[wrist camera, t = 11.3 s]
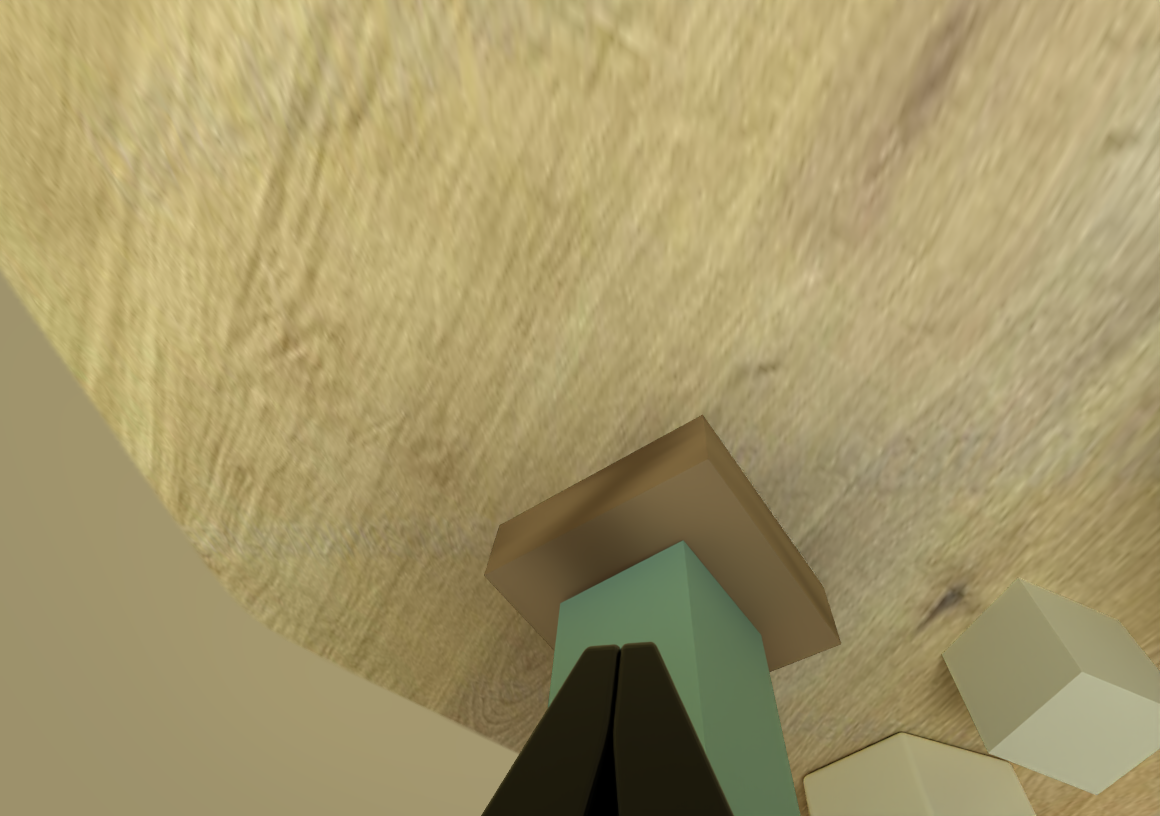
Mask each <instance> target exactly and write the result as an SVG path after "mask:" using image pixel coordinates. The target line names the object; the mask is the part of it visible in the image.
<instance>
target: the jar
mask: <svg viewBox="0 0 1160 816" xmlns="http://www.w3.org/2000/svg"><path fill="white" fill-rule="evenodd" d="M803 784H804V790H805V796H806V802H807V808H808V815H809V816H1037V815H1036V813H1035V811H1034V809H1033V807H1032V805H1031V803H1030V801H1029V799H1028V797H1027V795H1026V793H1025V791H1024V789H1023V787H1022V785H1021V783H1020V781H1019V779H1018V777H1017V775H1016V772H1015V770H1014V768H1013V767H1012V765H1011V764H1010V763H1009V762H1007V761H1004V760H1001V759H997V758H994V757H990V756H986V755H983V754H979V753H976V752H972V751H968V750H965V749H961V748H957V747H954V746H950V745H947V744H943V743H939V742H936V741H932V740H929V739H925V738H921V737H918V736H914V735H911V734H907V733H898V734H895V735H893V736H891V737H889V738H887V739H885V740H882V741H880V742H878V743H876V744H874V745H872V746H869V747H867V748H865V749H863V750H861V751H858V752H856V753H854V754H852V755H850V756H847V757H845V758H843V759H841V760H839V761H836V762H834V763H832V764H830V765H828V766H826V767H823V768H821V769H819V770H817V771H815V772H812V773H810V774H808V775H806V776H805V778H804V780H803Z"/></svg>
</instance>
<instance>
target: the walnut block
mask: <svg viewBox="0 0 1160 816" xmlns="http://www.w3.org/2000/svg"><path fill="white" fill-rule="evenodd" d="M683 540H684V542H685V543H686V544H687V545H688V546H689V548H690V549H691V550H692V551H693V553H694V554H695V555H696V556H697V557H698V559H699V560H700V561H701V562H702V563H703V565H704V566H705V567H706V568H707V570H708V571H709V572H710V573H711V574H712V576H713V577H714V578H715V579H716V581H717V582H718V583H719V584H720V585H721V587H722V588H723V589H724V590H725V591H726V593H727V594H728V595H729V596H730V598H731V599H732V600H733V601H734V602H735V604H736V605H737V606H738V607H739V609H740V610H741V611H742V612H743V613H744V615H745V616H746V617H747V618H748V620H749V621H750V622H751V623H752V624H753V626H754V627H755V628H756V629H757V630H758V632H759V633H760V634H761V637H762V641H763V646H764V650H765V655H766V660H767V664H768V669H769V672H771V671H774V670H776V669H779V668H781V667H784V666H786V665H789V664H792V663H794V662H797V661H799V660H802V659H804V658H807V657H810V656H812V655H815V654H817V653H820V652H822V651H825V650H827V649H830V648H833V647H835V646H838V645H840V644H841V642H840V638H839V635H838V632H837V629H836V626H835V622H834V619H833V616H832V613H831V610H830V606H829V603H828V600H827V597H826V593H825V590H824V587H823V586H822V584H821V583H820V582H819V580H818V579H817V577H816V576H815V574H814V573H813V572H812V570H811V569H810V567H809V566H808V564H807V563H806V562H805V560H804V559H803V557H802V556H801V554H800V553H799V552H798V550H797V549H796V547H795V546H794V544H793V543H792V542H791V540H790V539H789V537H788V536H787V534H786V533H785V532H784V530H783V529H782V527H781V526H780V524H779V523H778V522H777V520H776V519H775V517H774V516H773V515H772V513H771V512H770V510H769V509H768V507H767V506H766V505H765V503H764V502H763V500H762V499H761V497H760V496H759V495H758V493H757V492H756V490H755V489H754V487H753V486H752V485H751V483H750V482H749V480H748V479H747V477H746V476H745V475H744V473H743V472H742V470H741V469H740V467H739V466H738V465H737V463H736V462H735V460H734V459H733V457H732V456H731V455H730V453H729V452H728V450H727V449H726V447H725V446H724V445H723V443H722V442H721V440H720V439H719V437H718V436H717V435H716V433H715V432H714V430H713V429H712V427H711V426H710V425H709V423H708V422H707V420H706V419H705V417H704V416H703V415H701V416H699V417H697V418H696V419H694V420H692V421H690V422H688V423H686V424H685V425H683V426H681V427H679V428H677V429H675V430H674V431H672V432H670V433H668V434H666V435H665V436H663V437H661V438H659V439H657V440H655V441H654V442H652V443H650V444H648V445H646V446H644V447H643V448H641V449H639V450H637V451H635V452H633V453H632V454H630V455H628V456H626V457H624V458H622V459H621V460H619V461H617V462H615V463H613V464H611V465H610V466H608V467H606V468H604V469H602V470H600V471H599V472H597V473H595V474H593V475H591V476H589V477H588V478H586V479H584V480H582V481H580V482H578V483H577V484H575V485H573V486H571V487H569V488H567V489H566V490H564V491H562V492H560V493H558V494H556V495H555V496H553V497H551V498H549V499H547V500H545V501H544V502H542V503H540V504H538V505H536V506H534V507H533V508H531V509H529V510H527V511H525V512H523V513H522V514H520V515H518V516H516V517H514V518H512V519H511V520H509V521H507V522H505V523H503V524H501V525H500V526H499V529H498V532H497V535H496V539H495V542H494V545H493V548H492V551H491V555H490V558H489V561H488V564H487V568H486V571H485V574H484V576H485V577H486V578H487V579H488V580H489V581H490V582H491V583H492V584H493V586H494V587H495V588H496V589H497V590H498V591H499V592H500V593H501V594H502V595H503V596H504V597H505V598H506V599H507V601H508V602H509V603H510V604H511V605H512V606H513V607H514V608H515V609H516V610H517V611H518V612H519V613H520V614H521V615H522V617H523V618H524V619H525V620H526V621H527V622H528V623H529V624H530V625H531V626H532V627H533V628H534V629H535V630H536V631H537V633H538V634H539V635H540V636H541V637H542V638H543V639H544V640H545V641H546V642H547V643H548V644H549V645H550V646H551V647H552V649H553V650H554V651H555V643H556V635H557V626H558V618H559V609H560V603H562V602H564V601H566V600H568V599H570V598H572V597H574V596H576V595H578V594H579V593H581V592H583V591H585V590H587V589H589V588H591V587H593V586H595V585H597V584H599V583H601V582H603V581H605V580H607V579H609V578H611V577H613V576H615V575H616V574H618V573H620V572H622V571H624V570H626V569H628V568H630V567H632V566H634V565H636V564H638V563H640V562H642V561H644V560H646V559H648V558H650V557H652V556H653V555H655V554H657V553H659V552H661V551H663V550H665V549H667V548H669V547H671V546H673V545H675V544H677V543H679V542H681V541H683Z"/></svg>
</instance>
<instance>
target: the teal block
mask: <svg viewBox="0 0 1160 816" xmlns="http://www.w3.org/2000/svg"><path fill="white" fill-rule="evenodd" d="M639 642H653V643H655V644H656V645H657V647H658V649H659V652H660V654H661V656H662V658H663V660H664V663H665V665H666V667H667V669H668V671H669V674H670V676H671V678H672V680H673V682H674V684H675V687H676V689H677V691H678V693H679V695H680V698H681V700H682V702H683V704H684V706H685V709H686V711H687V713H688V715H689V717H690V720H691V722H692V724H693V726H694V728H695V731H696V733H697V735H698V737H699V739H700V742H701V744H702V746H703V748H704V750H705V753H706V755H707V757H708V759H709V761H710V764H711V766H712V768H713V770H714V772H715V775H716V777H717V779H718V781H719V783H720V786H721V788H722V790H723V792H724V794H725V797H726V799H727V801H728V803H729V805H730V808H731V810H732V812H733V814H734V816H801V815H800V811H799V806H798V802H797V797H796V793H795V788H794V783H793V779H792V774H791V770H790V765H789V760H788V756H787V751H786V747H785V742H784V737H783V733H782V728H781V724H780V719H779V715H778V710H777V705H776V701H775V696H774V692H773V687H772V682H771V678H770V673H769V669H768V664H767V660H766V655H765V650H764V646H763V641H762V637H761V634H760V633H759V632H758V630H757V629H756V628H755V627H754V626H753V624H752V623H751V622H750V621H749V620H748V618H747V617H746V616H745V615H744V613H743V612H742V611H741V610H740V609H739V607H738V606H737V605H736V604H735V602H734V601H733V600H732V599H731V598H730V596H729V595H728V594H727V593H726V591H725V590H724V589H723V588H722V587H721V585H720V584H719V583H718V582H717V581H716V579H715V578H714V577H713V576H712V574H711V573H710V572H709V571H708V570H707V568H706V567H705V566H704V565H703V563H702V562H701V561H700V560H699V559H698V557H697V556H696V555H695V554H694V553H693V551H692V550H691V549H690V548H689V546H688V545H687V544H686V543H685V542H684V540H683V541H681V542H679V543H677V544H675V545H673V546H671V547H669V548H667V549H665V550H663V551H661V552H659V553H657V554H655V555H653V556H652V557H650V558H648V559H646V560H644V561H642V562H640V563H638V564H636V565H634V566H632V567H630V568H628V569H626V570H624V571H622V572H620V573H618V574H616V575H615V576H613V577H611V578H609V579H607V580H605V581H603V582H601V583H599V584H597V585H595V586H593V587H591V588H589V589H587V590H585V591H583V592H581V593H579V594H578V595H576V596H574V597H572V598H570V599H568V600H566V601H564V602H562V603H560V609H559V618H558V626H557V635H556V643H555V652H554V660H553V668H552V677H551V685H550V694H549V702H548V707H549V706H550V704H551V702H552V701H553V699H554V698H555V696H556V694H557V693H558V691H559V690H560V688H561V686H562V685H563V683H564V682H565V680H566V678H567V677H568V675H569V673H570V672H571V670H572V669H573V667H574V665H575V664H576V662H577V661H578V659H579V657H580V656H581V654H582V653H583V651H584V650H585V649H586V648H587V647H589V646H598V645H612V644H615V645H618V646H619V647H620V648H622V646H623V645H624V644H626V643H639Z"/></svg>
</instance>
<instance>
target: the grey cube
mask: <svg viewBox="0 0 1160 816" xmlns="http://www.w3.org/2000/svg"><path fill="white" fill-rule="evenodd" d="M942 656H943V658H944V660H945V662H946V664H947V667H948V669H949V671H950V673H951V675H952V677H953V679H954V681H955V684H956V686H957V688H958V690H959V692H960V694H961V696H962V698H963V701H964V703H965V705H966V707H967V709H968V711H969V713H970V715H971V718H972V720H973V722H974V724H975V726H976V728H977V730H978V732H979V735H980V737H981V739H982V741H983V743H984V745H985V747H986V749H987V752H988V753H989V754H992V755H995V756H997V757H1000V758H1002V759H1005V760H1007V761H1010V762H1012V763H1015V764H1018V765H1020V766H1023V767H1025V768H1028V769H1030V770H1033V771H1036V772H1038V773H1041V774H1043V775H1046V776H1048V777H1051V778H1054V779H1056V780H1059V781H1061V782H1064V783H1066V784H1069V785H1072V786H1074V787H1077V788H1079V789H1082V790H1084V791H1087V792H1089V793H1092V794H1095V795H1098V794H1099V793H1101V792H1102V791H1103V790H1105V789H1106V788H1107V787H1109V786H1110V785H1112V784H1113V783H1114V782H1116V781H1117V780H1118V779H1120V778H1121V777H1122V776H1124V775H1125V774H1126V773H1128V772H1129V771H1130V770H1132V769H1133V768H1134V767H1136V766H1137V765H1138V764H1140V763H1141V762H1142V761H1144V760H1145V759H1146V758H1148V757H1149V756H1151V755H1152V754H1153V753H1155V752H1156V751H1157V750H1159V749H1160V671H1159V670H1158V668H1157V667H1156V666H1155V665H1154V663H1153V662H1152V661H1151V660H1150V658H1149V657H1148V656H1147V655H1146V654H1145V652H1144V651H1143V650H1142V649H1141V647H1140V646H1139V645H1138V644H1137V642H1136V641H1135V640H1134V639H1133V637H1132V636H1131V635H1130V634H1129V632H1128V631H1127V630H1126V629H1125V627H1124V626H1123V625H1122V624H1121V622H1120V621H1119V620H1117V619H1115V618H1113V617H1110V616H1108V615H1106V614H1103V613H1101V612H1099V611H1096V610H1094V609H1092V608H1089V607H1087V606H1084V605H1082V604H1080V603H1077V602H1075V601H1073V600H1070V599H1068V598H1066V597H1063V596H1061V595H1058V594H1056V593H1054V592H1051V591H1049V590H1047V589H1044V588H1042V587H1040V586H1037V585H1035V584H1033V583H1030V582H1028V581H1025V580H1023V579H1021V578H1017V579H1016V580H1015V581H1014V582H1013V583H1012V584H1011V585H1010V586H1009V587H1008V588H1007V589H1006V590H1005V591H1004V592H1003V593H1002V594H1001V595H1000V596H999V597H998V598H997V599H996V600H995V601H994V602H993V603H992V604H991V605H990V606H989V607H988V608H987V609H986V610H985V611H984V612H983V613H982V614H981V615H980V616H979V617H978V618H977V619H976V620H975V621H974V622H973V623H972V624H971V625H970V626H969V627H968V628H967V629H966V630H965V631H964V632H963V633H962V634H961V635H960V636H959V637H958V638H957V639H956V640H955V641H954V642H953V643H952V644H951V645H950V646H949V647H948V648H947V649H946V650H945V651H944V652H943V653H942Z"/></svg>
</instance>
